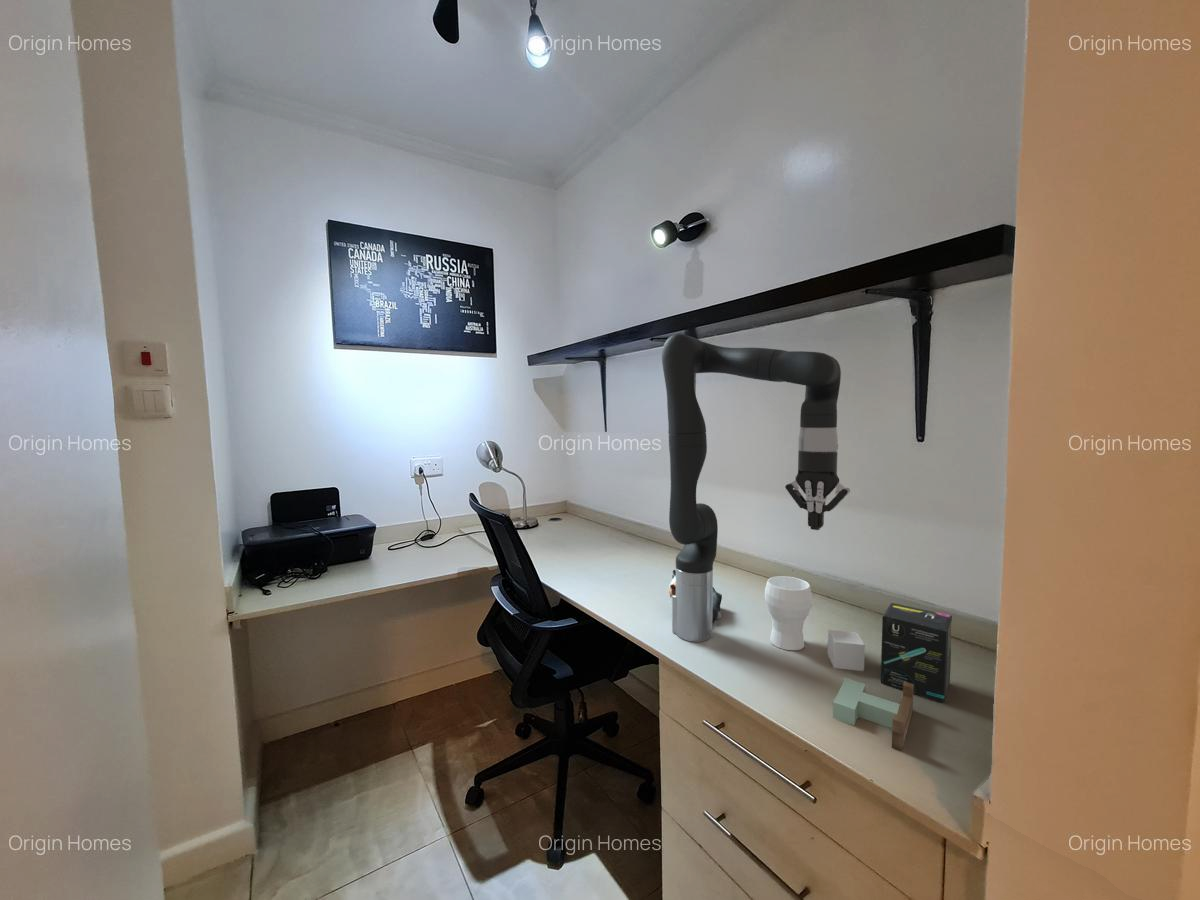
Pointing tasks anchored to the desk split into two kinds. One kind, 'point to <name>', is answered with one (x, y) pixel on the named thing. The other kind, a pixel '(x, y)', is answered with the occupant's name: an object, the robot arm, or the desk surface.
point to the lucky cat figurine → (716, 598)
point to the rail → (902, 717)
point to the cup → (788, 610)
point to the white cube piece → (846, 650)
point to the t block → (862, 705)
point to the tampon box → (916, 650)
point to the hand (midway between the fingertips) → (815, 529)
